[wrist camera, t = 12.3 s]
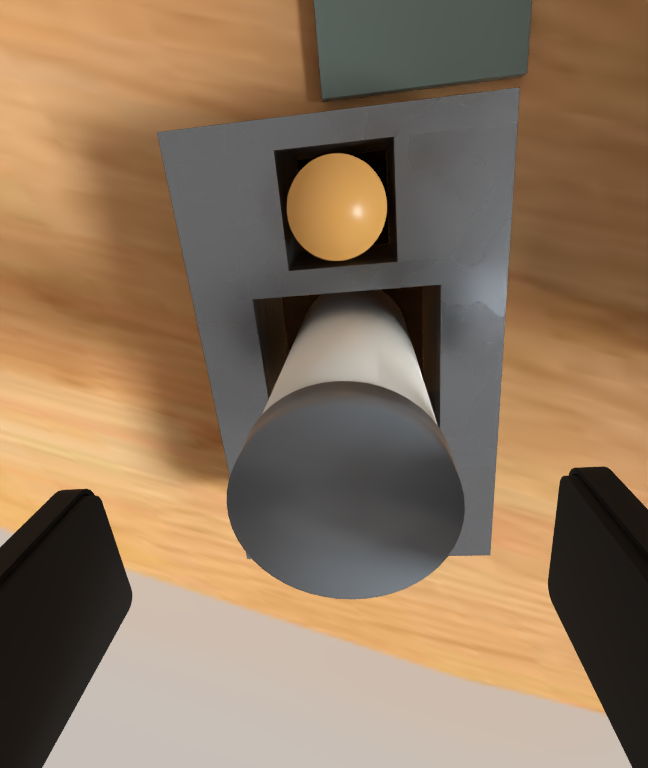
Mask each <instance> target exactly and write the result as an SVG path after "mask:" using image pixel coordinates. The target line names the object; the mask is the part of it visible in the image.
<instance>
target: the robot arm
mask: <svg viewBox="0 0 648 768" xmlns="http://www.w3.org/2000/svg"><path fill="white" fill-rule="evenodd" d="M548 589H549V595H550V598H551V601H552V603H553V605H554V607H555V609H556V612H557V614H558V616H559V618H560V620H561V622H562V624H563V626H564V628H565V630H566V632H567V634H568V636H569V638H570V640H571V642H572V644H573V646H574V649H575V651H576V653H577V655H578V657H579V659H580V661H581V663H582V665H583V667H584V669H585V671H586V673H587V675H588V677H589V679H590V681H591V683H592V686H593V688H594V690H595V692H596V694H597V696H598V698H599V700H600V702H601V704H602V706H603V708H604V710H605V712H606V714H607V716H608V718H609V720H610V722H611V725H612V727H613V729H614V731H615V733H616V735H617V737H618V739H619V741H620V743H621V745H622V747H623V749H624V751H625V753H626V755H627V757H628V759H629V761H630V763H631V765H632V768H648V509H647V508H646V507H645V506H644V505H643V504H642V503H641V502H640V501H639V500H638V499H637V497H636V496H635V495H634V494H633V493H632V492H631V491H630V490H629V489H628V488H627V487H626V486H625V485H624V484H623V483H622V481H621V480H620V479H619V478H618V477H617V476H616V475H615V474H614V473H613V472H612V471H611V470H610V469H609V468H607V467H584V468H573V469H571V471H570V473H569V476H563V477H562V478H561V480H560V486H559V494H558V503H557V511H556V519H555V528H554V536H553V544H552V553H551V561H550V569H549V578H548ZM131 602H132V590H131V587H130V584H129V581H128V578H127V575H126V572H125V569H124V566H123V563H122V560H121V557H120V554H119V551H118V548H117V545H116V542H115V539H114V536H113V533H112V530H111V527H110V524H109V521H108V518H107V515H106V512H105V509H104V506H103V503H102V501H101V499H100V498H99V497H98V496H95V495H94V493H93V492H92V491H91V490H88V489H74V490H61V491H58V492H57V493H55V494H54V495H53V496H52V497H51V498H50V499H49V500H48V501H47V502H46V503H45V504H44V505H43V506H42V507H41V508H40V509H39V510H38V511H37V512H36V513H35V514H34V515H33V516H32V517H31V518H30V519H29V520H28V521H27V522H26V523H25V524H24V525H23V526H22V527H21V528H20V529H18V530H17V531H16V532H15V533H14V534H13V535H12V536H11V537H10V538H9V539H8V540H7V541H6V542H5V543H4V544H3V545H2V546H1V547H0V768H42V767H43V765H44V763H45V762H46V760H47V758H48V756H49V754H50V752H51V751H52V749H53V747H54V745H55V743H56V742H57V740H58V738H59V736H60V734H61V732H62V731H63V729H64V727H65V725H66V723H67V721H68V720H69V718H70V716H71V714H72V712H73V711H74V709H75V707H76V705H77V703H78V701H79V700H80V698H81V696H82V694H83V692H84V691H85V689H86V687H87V685H88V683H89V682H90V680H91V678H92V676H93V674H94V672H95V671H96V669H97V667H98V665H99V663H100V662H101V660H102V658H103V656H104V654H105V652H106V651H107V649H108V647H109V645H110V643H111V642H112V640H113V638H114V636H115V634H116V632H117V631H118V629H119V627H120V625H121V623H122V621H123V619H124V618H125V616H126V614H127V612H128V611H129V608H130V606H131Z"/></svg>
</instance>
